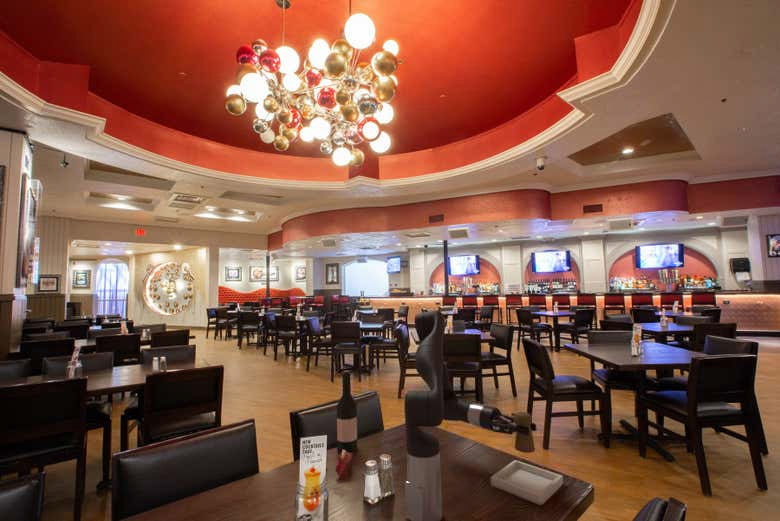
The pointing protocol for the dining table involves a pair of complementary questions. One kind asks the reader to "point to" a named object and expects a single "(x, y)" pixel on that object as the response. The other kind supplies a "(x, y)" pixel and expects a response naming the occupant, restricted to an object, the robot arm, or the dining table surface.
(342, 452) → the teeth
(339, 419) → the wine bottle
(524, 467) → the serving tray
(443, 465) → the dining table surface
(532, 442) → the cork
